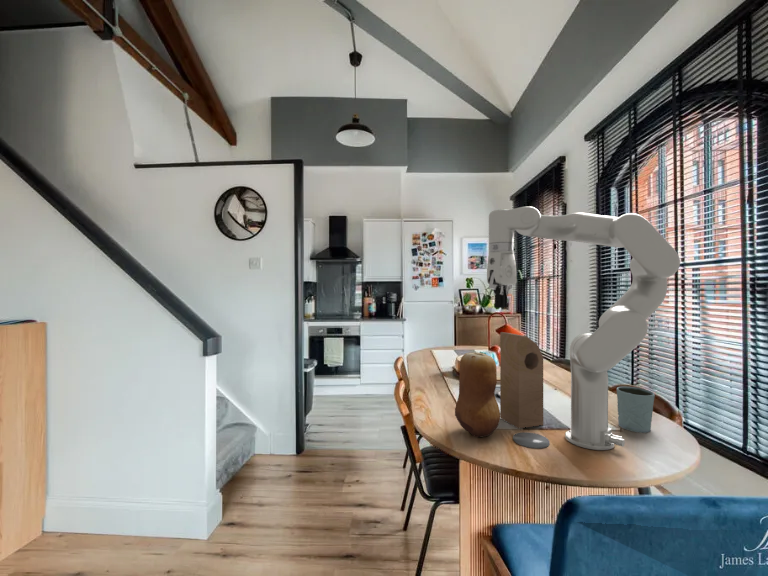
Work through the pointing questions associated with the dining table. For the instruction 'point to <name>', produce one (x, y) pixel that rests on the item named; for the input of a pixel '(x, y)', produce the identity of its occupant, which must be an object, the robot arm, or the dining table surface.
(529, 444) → the grey dome
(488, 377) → the butternut squash
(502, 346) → the decorative block
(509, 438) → the dining table surface
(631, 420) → the grey-green cup
